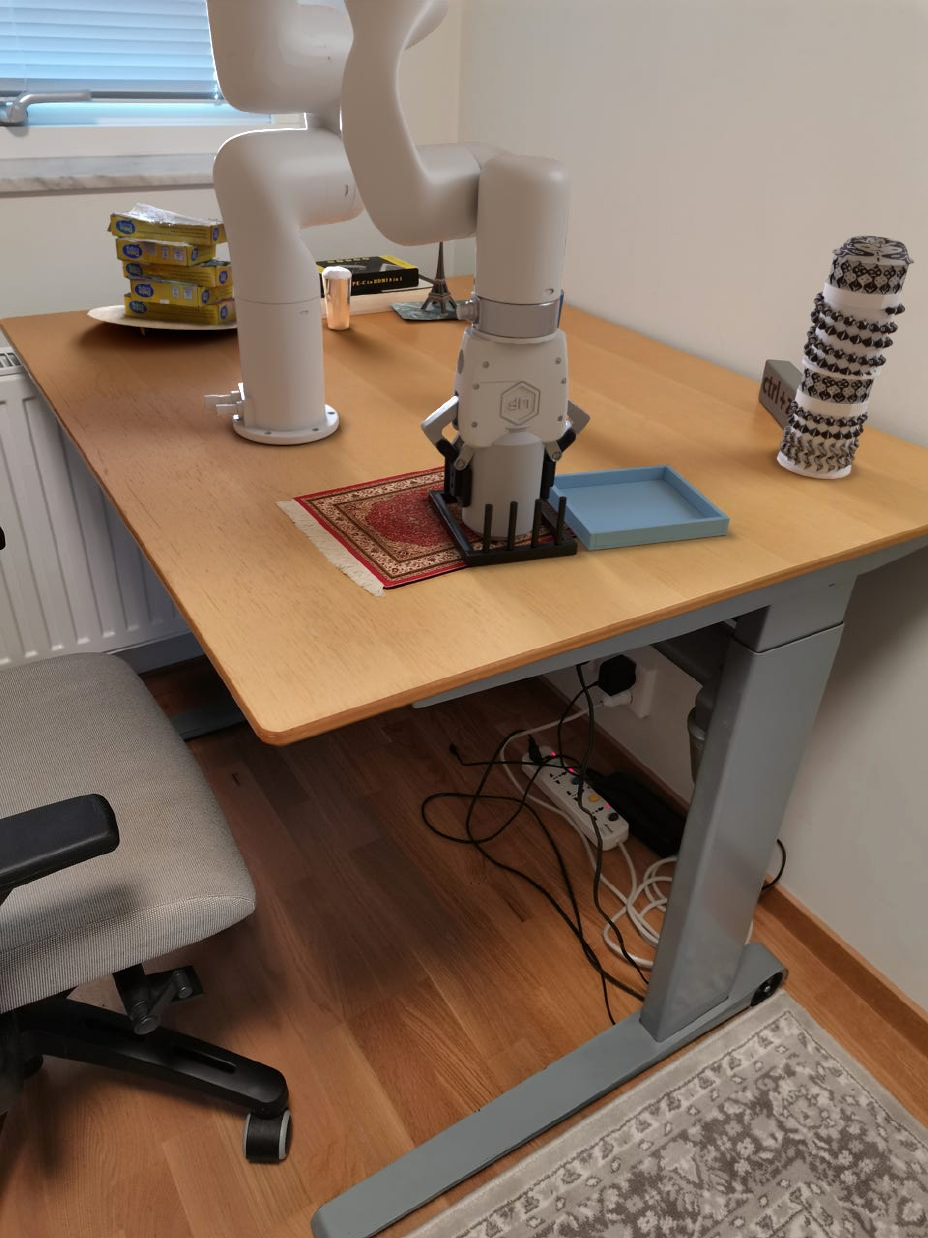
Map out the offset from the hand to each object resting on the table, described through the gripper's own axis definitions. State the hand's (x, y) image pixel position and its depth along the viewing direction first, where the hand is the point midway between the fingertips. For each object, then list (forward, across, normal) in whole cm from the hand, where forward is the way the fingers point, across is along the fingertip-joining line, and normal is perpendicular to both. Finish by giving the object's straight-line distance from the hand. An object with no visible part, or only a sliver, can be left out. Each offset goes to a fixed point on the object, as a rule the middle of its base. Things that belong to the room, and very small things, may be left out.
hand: (501, 496), depth 89 cm
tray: (+3, +14, 0) cm, 15 cm away
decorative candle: (+4, +42, +7) cm, 43 cm away
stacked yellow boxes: (+3, -28, +72) cm, 77 cm away
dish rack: (+3, 0, 0) cm, 3 cm away
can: (+4, 0, 0) cm, 4 cm away
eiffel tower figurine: (+3, +15, +75) cm, 77 cm away
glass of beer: (+3, -3, +69) cm, 69 cm away
